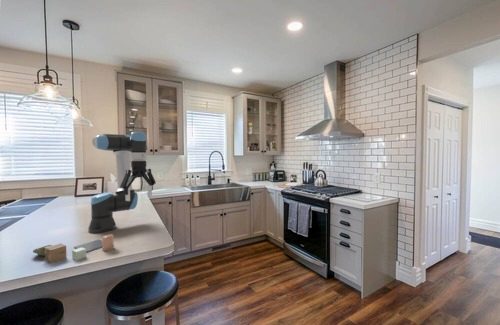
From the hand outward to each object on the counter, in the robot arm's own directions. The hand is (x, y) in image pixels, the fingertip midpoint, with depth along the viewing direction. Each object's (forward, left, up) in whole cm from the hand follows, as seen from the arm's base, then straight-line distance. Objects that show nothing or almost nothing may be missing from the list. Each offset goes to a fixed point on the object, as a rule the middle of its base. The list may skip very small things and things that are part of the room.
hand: (139, 198), depth 124 cm
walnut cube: (-16, -32, -25) cm, 44 cm away
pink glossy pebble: (-6, -14, -25) cm, 29 cm away
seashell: (-29, -32, -26) cm, 50 cm away
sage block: (-8, -26, -25) cm, 37 cm away
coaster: (-17, -16, -25) cm, 34 cm away
